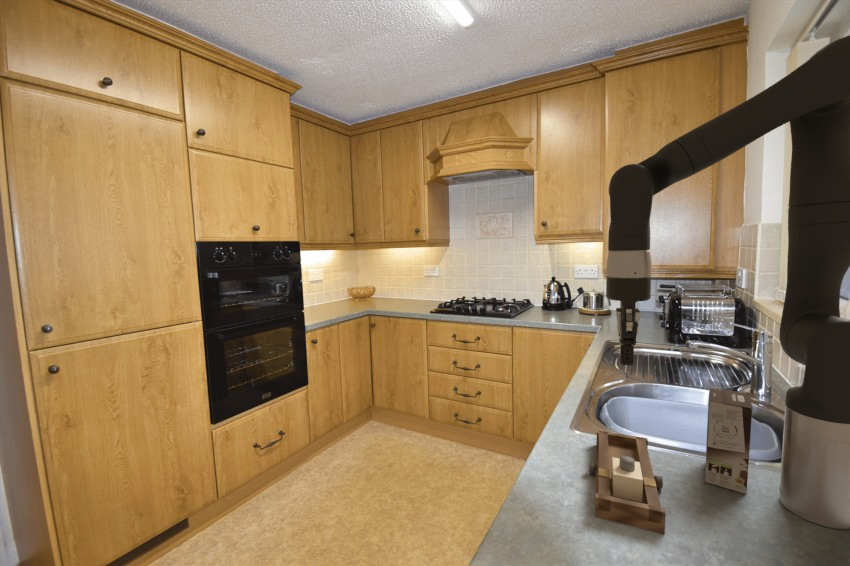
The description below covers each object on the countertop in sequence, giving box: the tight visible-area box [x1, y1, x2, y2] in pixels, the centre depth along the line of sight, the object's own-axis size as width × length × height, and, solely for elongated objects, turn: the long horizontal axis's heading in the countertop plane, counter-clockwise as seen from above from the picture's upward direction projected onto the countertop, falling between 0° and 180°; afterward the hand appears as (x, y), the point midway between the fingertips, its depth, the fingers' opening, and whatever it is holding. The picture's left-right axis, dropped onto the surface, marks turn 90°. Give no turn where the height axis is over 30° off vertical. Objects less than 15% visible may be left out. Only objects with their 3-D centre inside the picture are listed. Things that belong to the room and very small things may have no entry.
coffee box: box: [704, 387, 753, 494], centre depth 75 cm, size 9×6×16 cm
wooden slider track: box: [588, 429, 667, 535], centre depth 75 cm, size 12×26×4 cm, turn 156°
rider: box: [612, 456, 643, 502], centre depth 70 cm, size 4×6×6 cm
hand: (626, 363), depth 75 cm, fingers closed
